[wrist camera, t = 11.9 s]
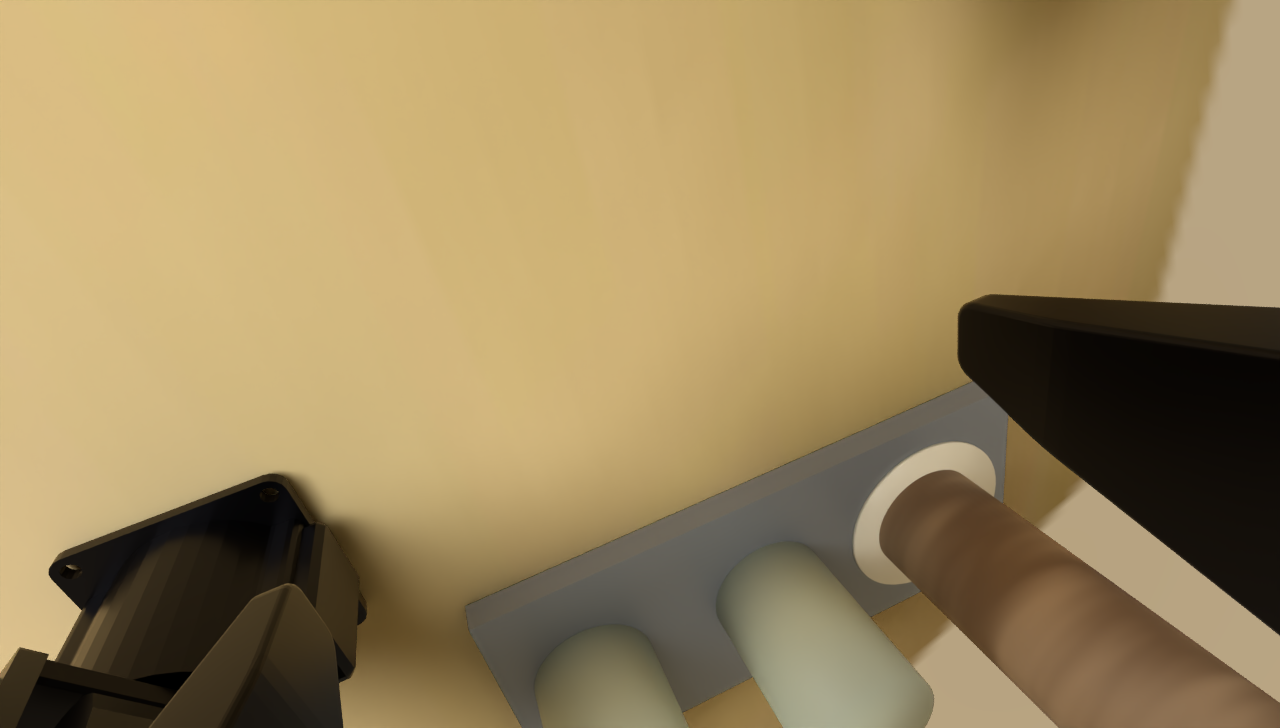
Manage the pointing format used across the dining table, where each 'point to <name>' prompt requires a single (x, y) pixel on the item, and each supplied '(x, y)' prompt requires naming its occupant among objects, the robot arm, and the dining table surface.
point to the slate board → (740, 551)
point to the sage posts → (749, 657)
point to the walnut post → (1058, 618)
